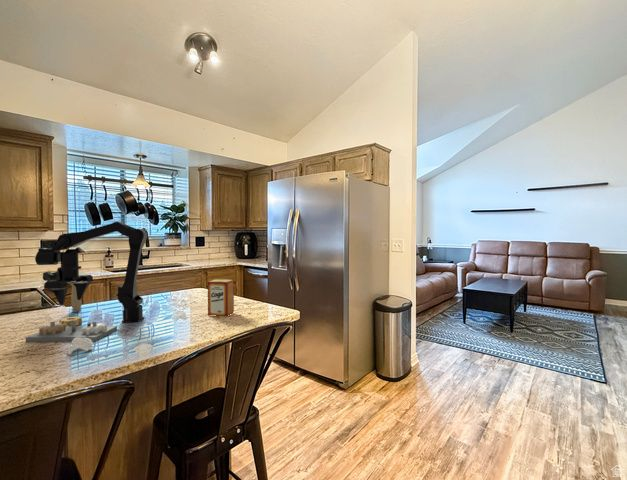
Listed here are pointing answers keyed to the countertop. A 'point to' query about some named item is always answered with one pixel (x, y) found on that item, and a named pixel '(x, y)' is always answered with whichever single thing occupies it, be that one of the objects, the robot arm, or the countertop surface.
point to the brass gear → (69, 321)
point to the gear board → (71, 332)
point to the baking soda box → (220, 297)
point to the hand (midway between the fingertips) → (70, 302)
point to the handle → (75, 300)
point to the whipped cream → (80, 345)
